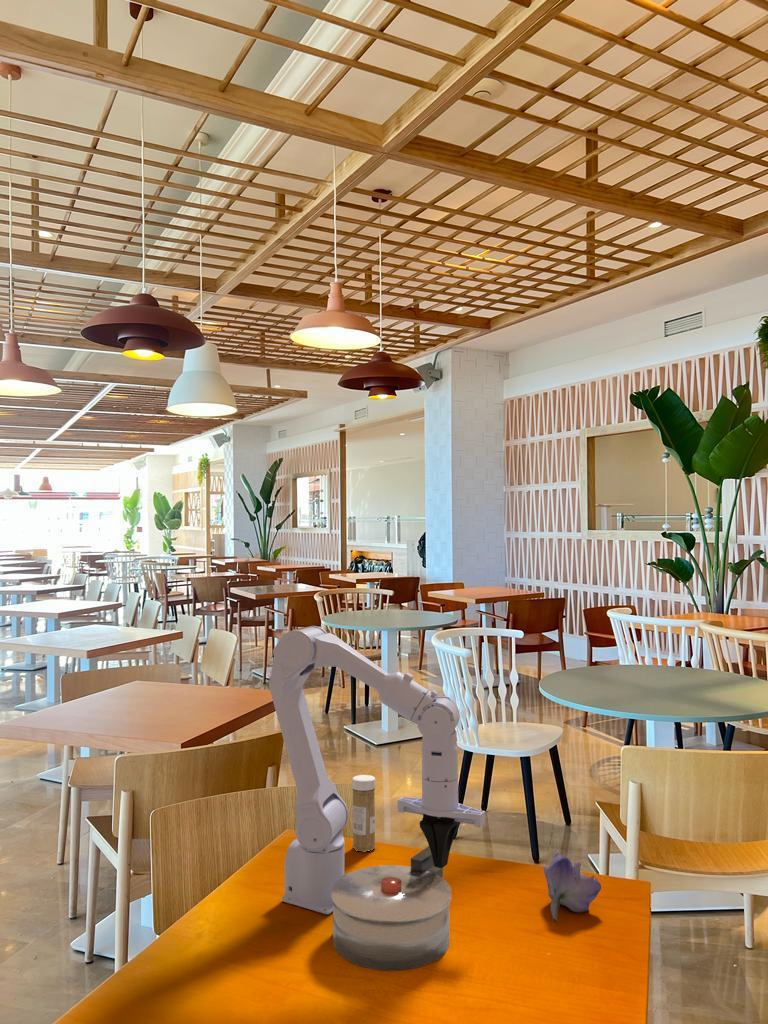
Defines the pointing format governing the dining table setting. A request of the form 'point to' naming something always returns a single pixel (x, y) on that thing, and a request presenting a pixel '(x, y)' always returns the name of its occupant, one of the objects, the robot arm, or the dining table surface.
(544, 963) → the dining table surface
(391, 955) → the cooker pot
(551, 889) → the flower
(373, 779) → the sprinkles bottle
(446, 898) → the cooker lid
